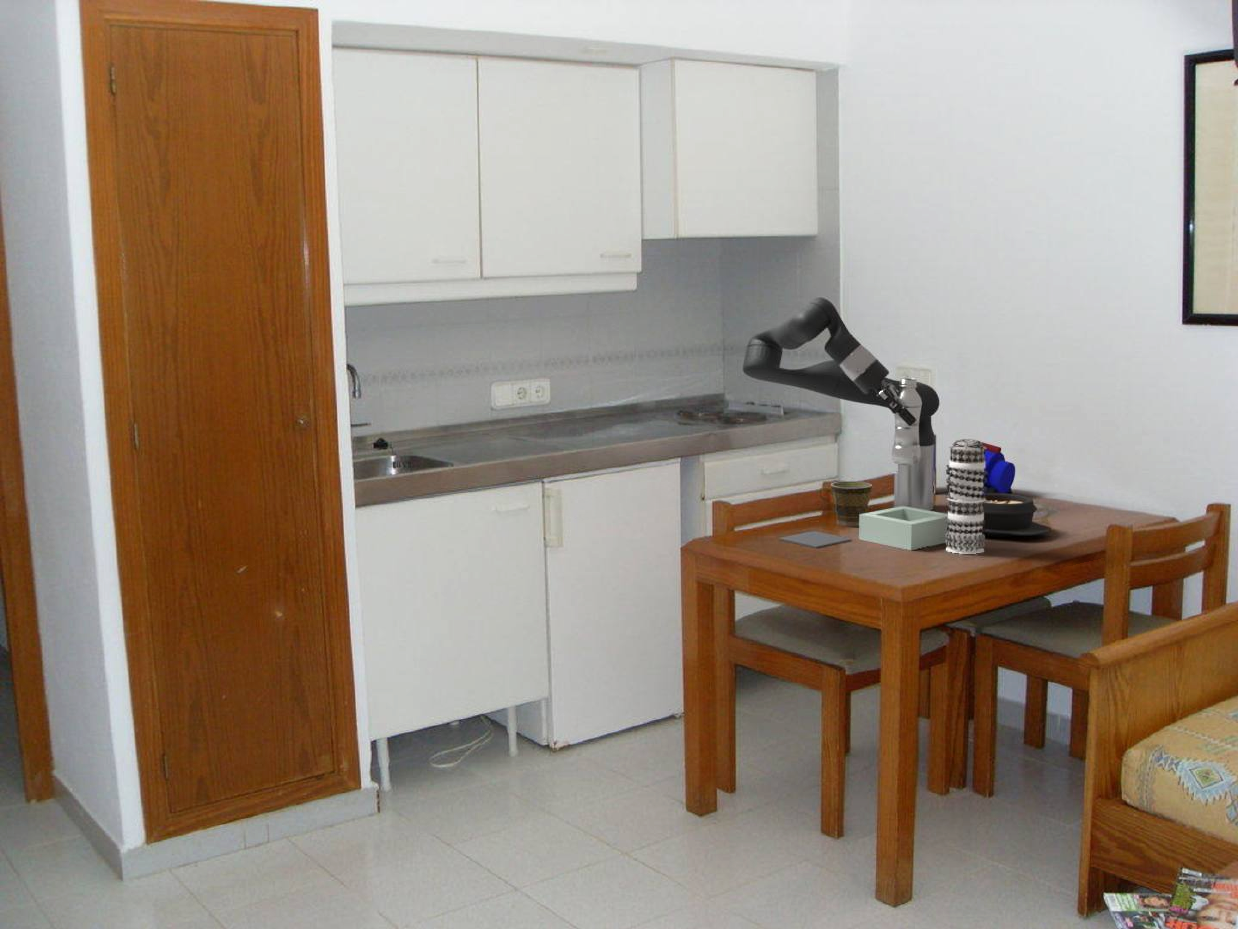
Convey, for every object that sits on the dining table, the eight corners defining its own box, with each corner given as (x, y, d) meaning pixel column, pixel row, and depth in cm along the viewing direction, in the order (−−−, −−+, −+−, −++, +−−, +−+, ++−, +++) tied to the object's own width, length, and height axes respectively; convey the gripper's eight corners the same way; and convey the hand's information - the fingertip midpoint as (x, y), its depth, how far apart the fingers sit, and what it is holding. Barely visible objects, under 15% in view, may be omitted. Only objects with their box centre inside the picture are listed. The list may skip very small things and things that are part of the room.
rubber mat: (778, 539, 306) (778, 538, 306) (814, 532, 314) (814, 531, 314) (816, 548, 297) (816, 546, 297) (851, 540, 304) (851, 539, 304)
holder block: (859, 539, 305) (859, 514, 304) (902, 530, 315) (902, 506, 314) (911, 550, 293) (911, 524, 292) (954, 540, 303) (955, 515, 302)
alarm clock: (978, 490, 367) (980, 437, 364) (1019, 495, 358) (1021, 441, 356) (957, 496, 358) (958, 442, 356) (998, 501, 350) (1000, 446, 347)
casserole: (932, 530, 315) (932, 496, 313) (978, 519, 326) (979, 487, 325) (1021, 547, 296) (1023, 510, 294) (1067, 535, 307) (1068, 500, 306)
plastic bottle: (926, 466, 300) (929, 379, 296) (901, 468, 297) (903, 381, 294) (910, 462, 306) (912, 377, 302) (885, 464, 303) (887, 378, 300)
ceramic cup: (869, 520, 327) (870, 481, 326) (873, 528, 317) (873, 488, 316) (817, 520, 329) (817, 481, 327) (819, 528, 319) (819, 488, 317)
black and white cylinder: (935, 550, 293) (938, 440, 289) (959, 544, 299) (962, 436, 295) (970, 557, 286) (973, 444, 282) (993, 550, 292) (997, 440, 288)
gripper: (856, 377, 309) (905, 428, 307) (848, 383, 295) (899, 436, 294) (879, 355, 306) (929, 406, 305) (872, 360, 293) (924, 413, 291)
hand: (914, 421), depth 299 cm, fingers closed on plastic bottle, 6 cm apart
